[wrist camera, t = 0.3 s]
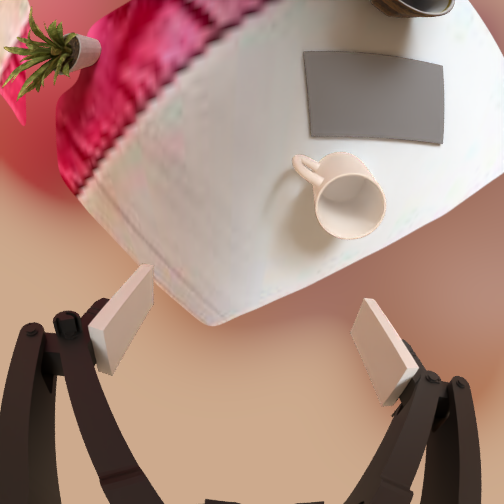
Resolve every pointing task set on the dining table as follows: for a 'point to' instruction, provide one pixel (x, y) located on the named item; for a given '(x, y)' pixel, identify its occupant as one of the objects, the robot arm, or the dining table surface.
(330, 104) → the mat
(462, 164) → the dining table surface
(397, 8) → the ceramic cup
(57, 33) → the house plant
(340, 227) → the cup
